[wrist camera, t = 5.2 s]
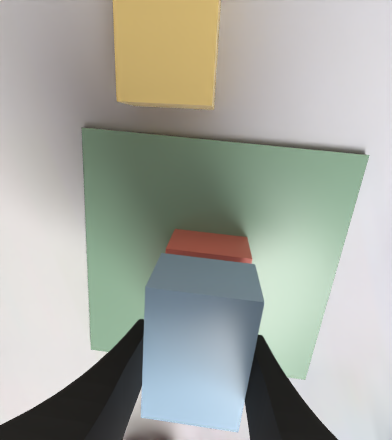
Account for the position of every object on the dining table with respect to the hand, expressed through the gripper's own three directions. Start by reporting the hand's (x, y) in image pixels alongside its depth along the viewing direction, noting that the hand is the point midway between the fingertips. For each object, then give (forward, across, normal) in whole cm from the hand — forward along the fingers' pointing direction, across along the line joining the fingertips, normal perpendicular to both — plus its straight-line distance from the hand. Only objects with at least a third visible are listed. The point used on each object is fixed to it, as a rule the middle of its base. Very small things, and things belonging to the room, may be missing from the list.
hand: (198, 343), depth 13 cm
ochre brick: (+6, +3, -14) cm, 16 cm away
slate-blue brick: (+2, 0, 0) cm, 2 cm away
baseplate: (+6, 0, -1) cm, 6 cm away
